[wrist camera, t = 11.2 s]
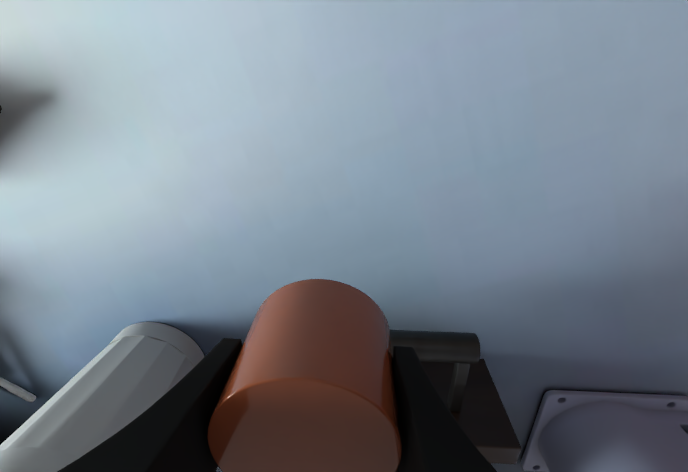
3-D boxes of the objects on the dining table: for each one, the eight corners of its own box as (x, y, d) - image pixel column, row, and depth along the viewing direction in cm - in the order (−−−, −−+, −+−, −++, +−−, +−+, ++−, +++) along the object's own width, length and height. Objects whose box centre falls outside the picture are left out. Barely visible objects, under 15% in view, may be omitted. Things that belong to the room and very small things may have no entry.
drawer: (313, 287, 20) (297, 363, 15) (498, 294, 20) (547, 373, 15) (319, 476, 28) (308, 571, 22) (454, 483, 27) (477, 582, 22)
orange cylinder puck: (395, 281, 12) (411, 384, 8) (385, 390, 15) (394, 514, 10) (247, 275, 13) (191, 373, 8) (259, 384, 15) (219, 503, 11)
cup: (78, 322, 23) (-169, 542, 12) (190, 302, 22) (27, 523, 11) (135, 407, 26) (-23, 641, 16) (235, 393, 25) (140, 634, 15)
